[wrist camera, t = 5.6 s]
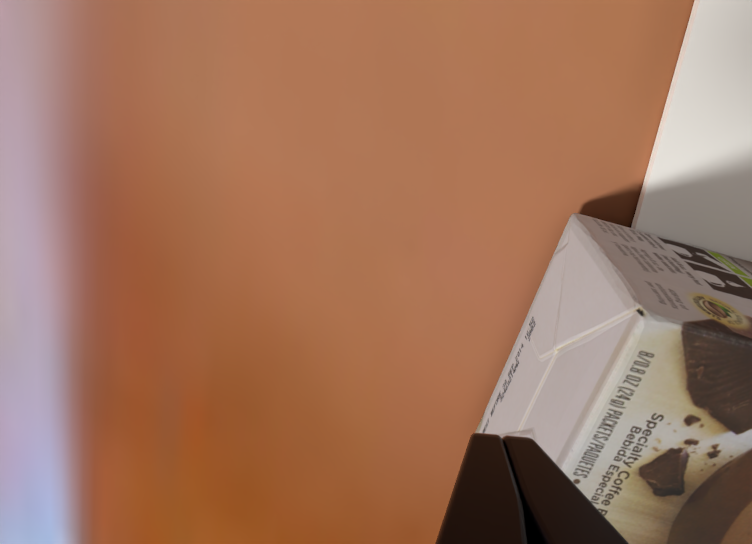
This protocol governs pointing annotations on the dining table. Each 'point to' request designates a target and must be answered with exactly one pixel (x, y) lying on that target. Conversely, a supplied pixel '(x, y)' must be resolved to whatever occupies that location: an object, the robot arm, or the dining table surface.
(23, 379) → the dining table surface
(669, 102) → the mat
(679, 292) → the coffee box
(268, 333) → the dining table surface
